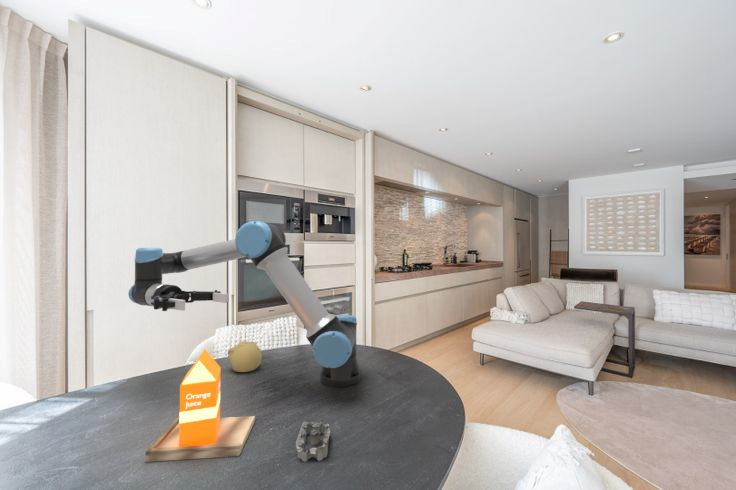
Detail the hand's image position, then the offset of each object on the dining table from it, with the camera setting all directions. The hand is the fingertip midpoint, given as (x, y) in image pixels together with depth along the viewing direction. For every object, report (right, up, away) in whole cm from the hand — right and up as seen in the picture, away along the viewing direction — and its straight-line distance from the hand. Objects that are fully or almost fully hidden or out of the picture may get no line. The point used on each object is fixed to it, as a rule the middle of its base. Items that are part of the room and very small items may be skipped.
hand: (207, 301), depth 89 cm
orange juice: (+6, -31, -14) cm, 34 cm away
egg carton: (+34, -32, -15) cm, 49 cm away
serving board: (+7, -32, -13) cm, 35 cm away
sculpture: (-2, -33, +31) cm, 45 cm away
